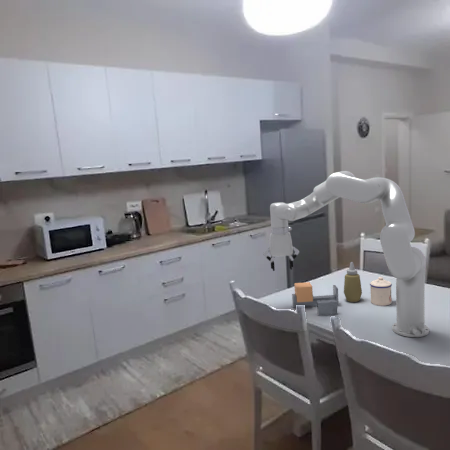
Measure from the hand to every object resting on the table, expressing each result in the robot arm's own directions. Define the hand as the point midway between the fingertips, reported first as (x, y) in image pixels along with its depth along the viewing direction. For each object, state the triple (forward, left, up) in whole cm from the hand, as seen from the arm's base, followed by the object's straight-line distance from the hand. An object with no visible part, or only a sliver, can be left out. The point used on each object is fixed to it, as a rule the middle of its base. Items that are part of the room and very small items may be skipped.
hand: (282, 269), depth 185 cm
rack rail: (+2, -14, -18) cm, 23 cm away
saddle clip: (0, -9, -15) cm, 17 cm away
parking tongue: (-11, -17, -18) cm, 27 cm away
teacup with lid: (-1, -43, -18) cm, 47 cm away
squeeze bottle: (+3, -32, -18) cm, 37 cm away
